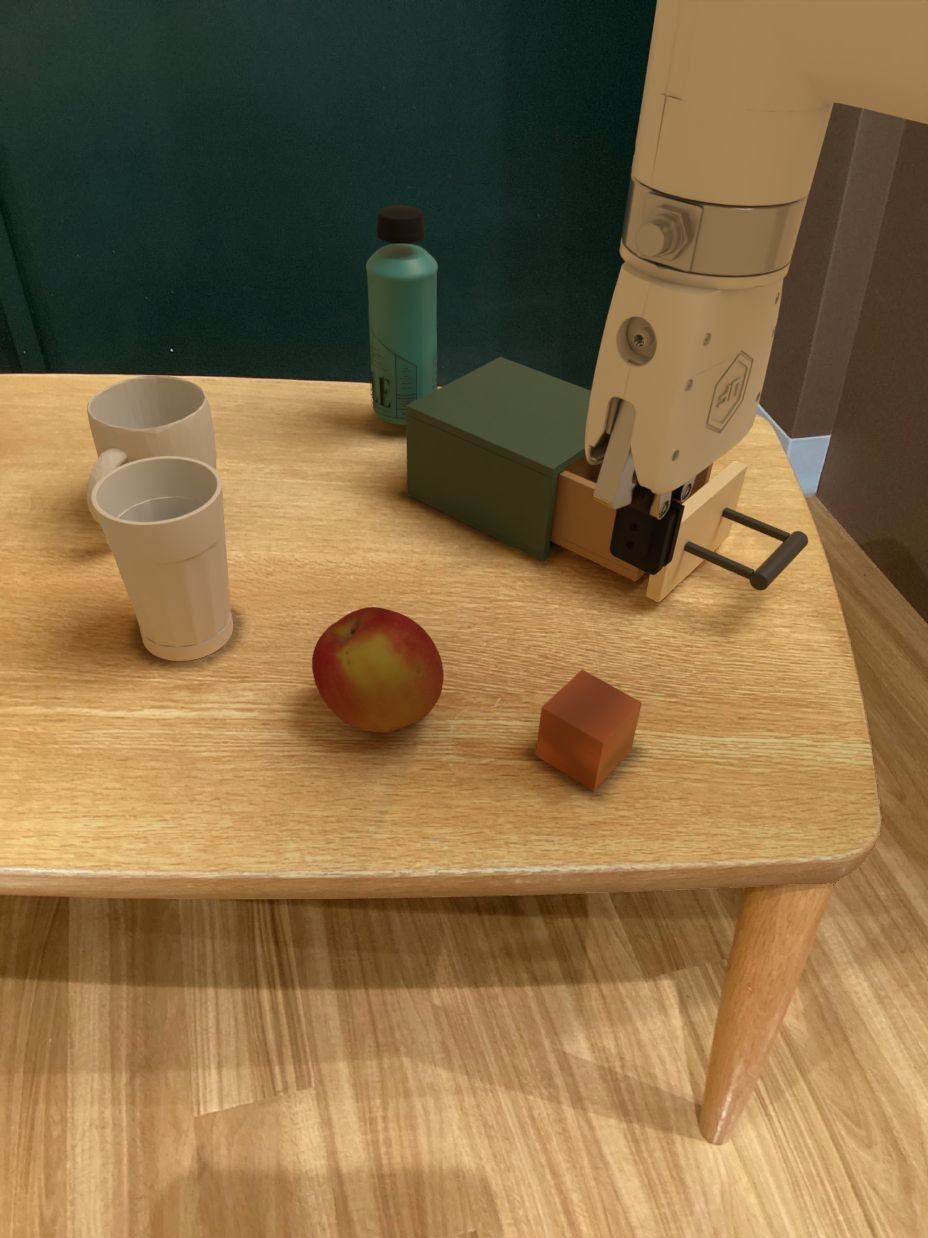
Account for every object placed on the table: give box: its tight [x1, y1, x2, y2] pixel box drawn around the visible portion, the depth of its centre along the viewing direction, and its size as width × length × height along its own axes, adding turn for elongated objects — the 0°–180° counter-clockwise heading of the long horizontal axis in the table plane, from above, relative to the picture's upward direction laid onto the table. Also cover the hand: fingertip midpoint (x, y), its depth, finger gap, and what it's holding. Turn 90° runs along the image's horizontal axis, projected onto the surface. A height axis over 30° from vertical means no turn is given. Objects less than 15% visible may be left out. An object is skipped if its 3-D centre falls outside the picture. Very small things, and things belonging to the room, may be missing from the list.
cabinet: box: [405, 356, 591, 562], centre depth 78 cm, size 15×13×9 cm
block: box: [535, 669, 643, 792], centre depth 57 cm, size 4×4×4 cm
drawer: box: [550, 455, 809, 603], centre depth 72 cm, size 20×11×7 cm, turn 51°
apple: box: [311, 606, 445, 733], centre depth 58 cm, size 8×8×8 cm
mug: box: [85, 375, 217, 525], centre depth 73 cm, size 13×9×10 cm
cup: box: [91, 456, 234, 662], centre depth 62 cm, size 8×8×12 cm
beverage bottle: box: [365, 204, 440, 426], centre depth 84 cm, size 6×7×20 cm
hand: (639, 558), depth 52 cm, fingers closed
